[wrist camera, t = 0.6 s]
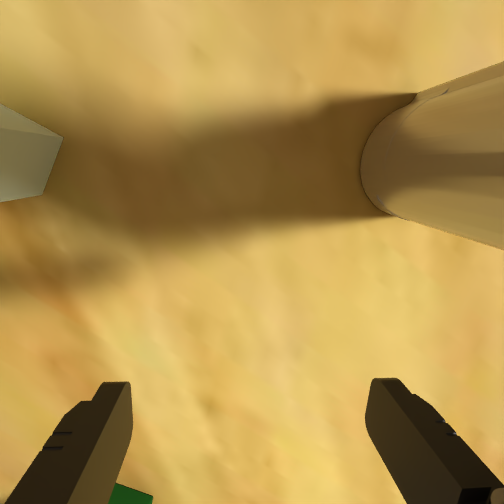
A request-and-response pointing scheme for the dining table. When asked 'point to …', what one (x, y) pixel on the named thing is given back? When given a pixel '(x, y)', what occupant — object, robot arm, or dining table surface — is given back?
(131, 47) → the dining table surface
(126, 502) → the milk carton
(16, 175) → the green block
